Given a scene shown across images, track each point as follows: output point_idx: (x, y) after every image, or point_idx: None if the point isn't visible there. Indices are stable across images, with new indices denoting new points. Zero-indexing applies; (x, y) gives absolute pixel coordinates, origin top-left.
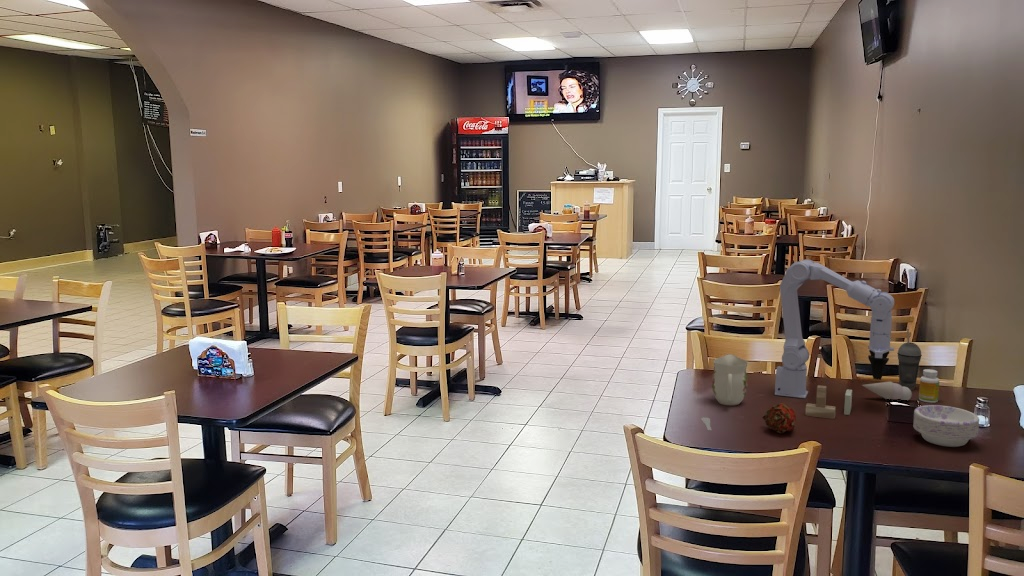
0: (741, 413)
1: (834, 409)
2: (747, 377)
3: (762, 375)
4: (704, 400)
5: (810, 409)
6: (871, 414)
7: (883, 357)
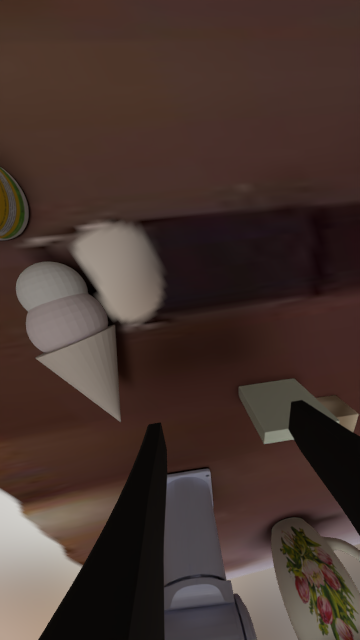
0: None
1: (358, 414)
2: (330, 600)
3: (81, 550)
4: None
5: None
6: (269, 339)
7: (139, 613)
